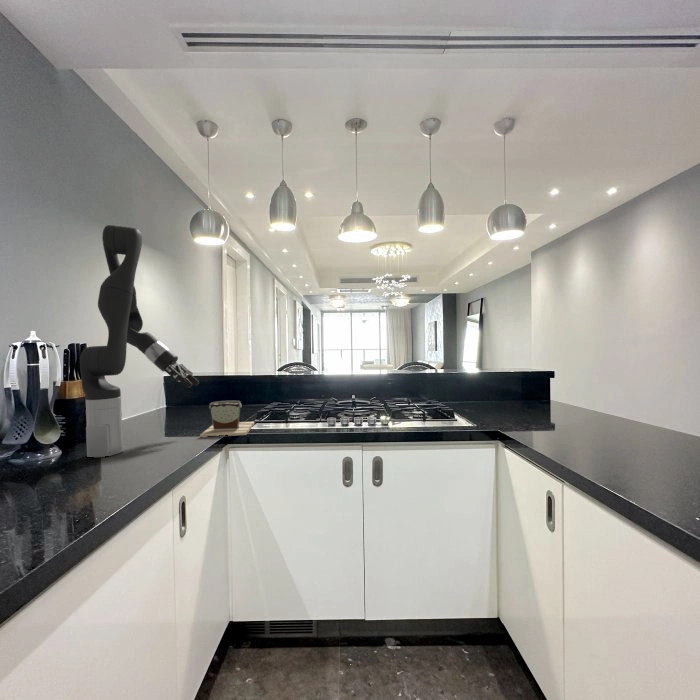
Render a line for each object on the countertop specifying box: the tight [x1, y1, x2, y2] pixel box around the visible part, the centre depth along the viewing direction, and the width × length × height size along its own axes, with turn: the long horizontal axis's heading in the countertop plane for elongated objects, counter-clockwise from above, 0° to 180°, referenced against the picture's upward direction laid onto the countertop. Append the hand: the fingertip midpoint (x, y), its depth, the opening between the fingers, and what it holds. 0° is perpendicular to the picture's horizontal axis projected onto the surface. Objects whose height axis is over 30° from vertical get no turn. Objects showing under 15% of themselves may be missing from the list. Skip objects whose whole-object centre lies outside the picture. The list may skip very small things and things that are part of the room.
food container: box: [208, 399, 242, 430], centre depth 149 cm, size 12×6×10 cm, turn 86°
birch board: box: [199, 421, 255, 438], centre depth 149 cm, size 20×16×1 cm
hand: (194, 385), depth 147 cm, fingers open, 8 cm apart
